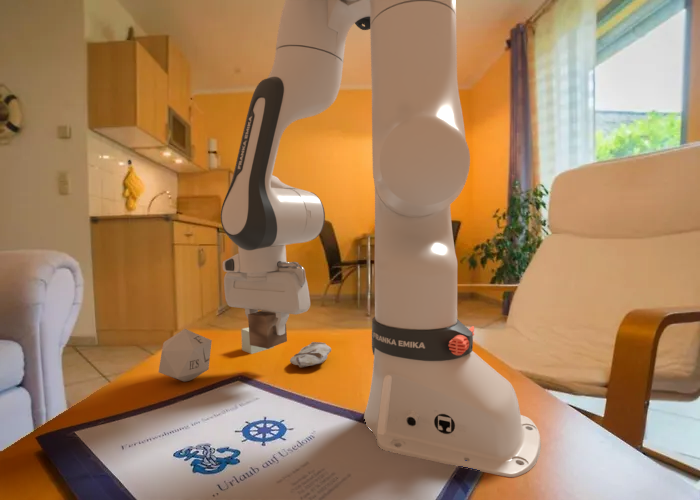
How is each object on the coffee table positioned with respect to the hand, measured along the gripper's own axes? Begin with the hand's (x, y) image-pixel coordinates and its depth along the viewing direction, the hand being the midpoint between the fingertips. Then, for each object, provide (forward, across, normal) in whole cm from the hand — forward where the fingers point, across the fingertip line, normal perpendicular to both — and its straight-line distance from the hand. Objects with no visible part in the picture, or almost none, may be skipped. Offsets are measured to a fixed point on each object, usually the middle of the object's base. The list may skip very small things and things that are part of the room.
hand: (267, 332), depth 71 cm
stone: (+8, -6, -11) cm, 15 cm away
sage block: (+7, +12, -8) cm, 16 cm away
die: (+7, +9, +12) cm, 17 cm away
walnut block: (+2, 0, 0) cm, 2 cm away
